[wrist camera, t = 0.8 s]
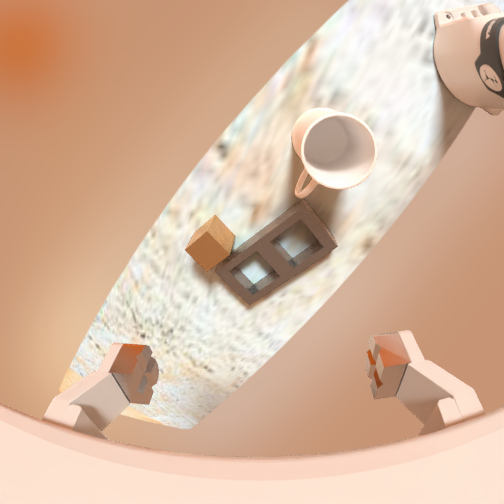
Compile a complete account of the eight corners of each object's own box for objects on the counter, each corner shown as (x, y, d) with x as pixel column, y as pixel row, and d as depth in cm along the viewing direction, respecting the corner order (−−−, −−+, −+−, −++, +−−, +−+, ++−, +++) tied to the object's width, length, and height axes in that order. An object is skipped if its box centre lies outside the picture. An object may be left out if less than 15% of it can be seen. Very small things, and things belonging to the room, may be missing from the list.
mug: (312, 196, 43) (324, 229, 32) (265, 160, 41) (261, 182, 31) (364, 134, 38) (395, 148, 28) (316, 95, 36) (333, 93, 26)
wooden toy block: (215, 214, 46) (207, 231, 40) (235, 235, 47) (229, 254, 42) (194, 231, 47) (184, 249, 42) (214, 251, 49) (207, 271, 43)
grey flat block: (303, 198, 43) (305, 205, 41) (334, 237, 46) (337, 246, 43) (218, 262, 49) (215, 271, 47) (250, 294, 52) (249, 304, 49)
